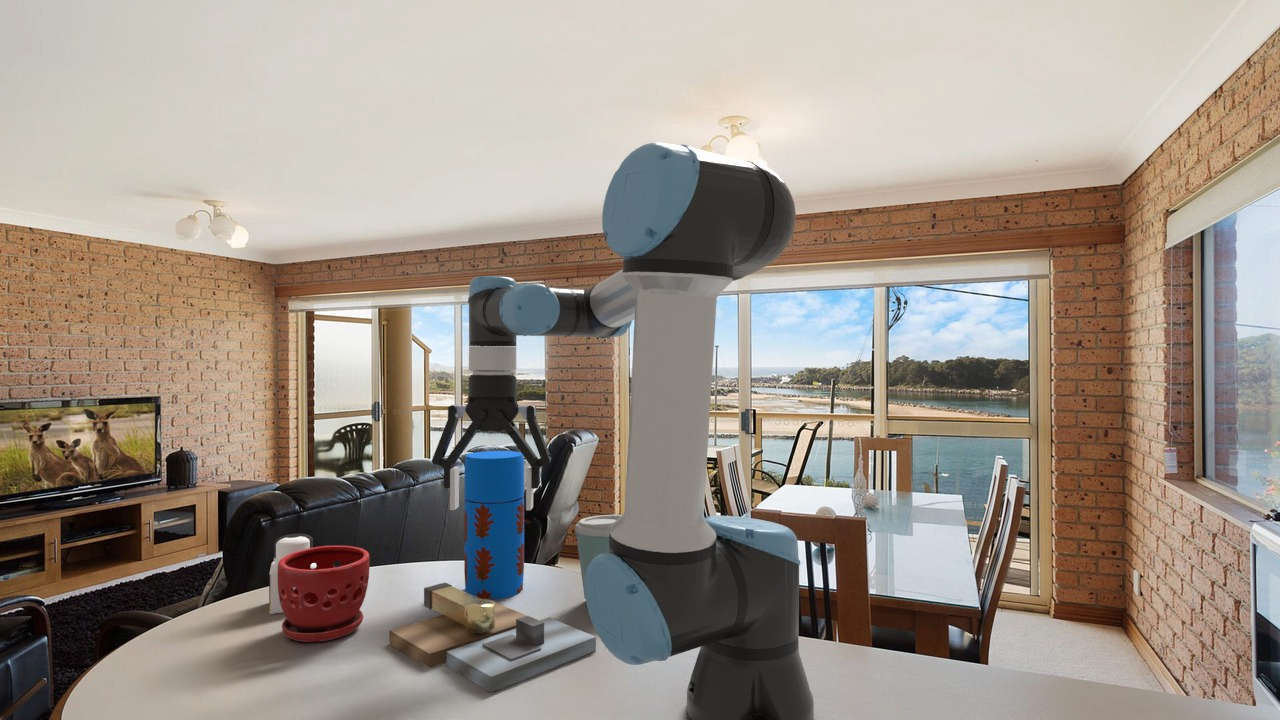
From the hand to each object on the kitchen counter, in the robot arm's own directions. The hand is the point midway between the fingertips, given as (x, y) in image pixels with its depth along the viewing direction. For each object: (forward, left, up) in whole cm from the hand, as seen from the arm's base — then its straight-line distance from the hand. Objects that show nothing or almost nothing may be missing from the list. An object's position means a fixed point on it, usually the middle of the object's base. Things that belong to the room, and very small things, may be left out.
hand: (492, 508), depth 112 cm
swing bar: (-1, +6, -16) cm, 17 cm away
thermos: (+14, -10, -19) cm, 25 cm away
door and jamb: (-8, +5, -19) cm, 21 cm away
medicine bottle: (+32, +19, -19) cm, 42 cm away
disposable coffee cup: (-6, -19, -19) cm, 28 cm away
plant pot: (+16, +20, -19) cm, 32 cm away
